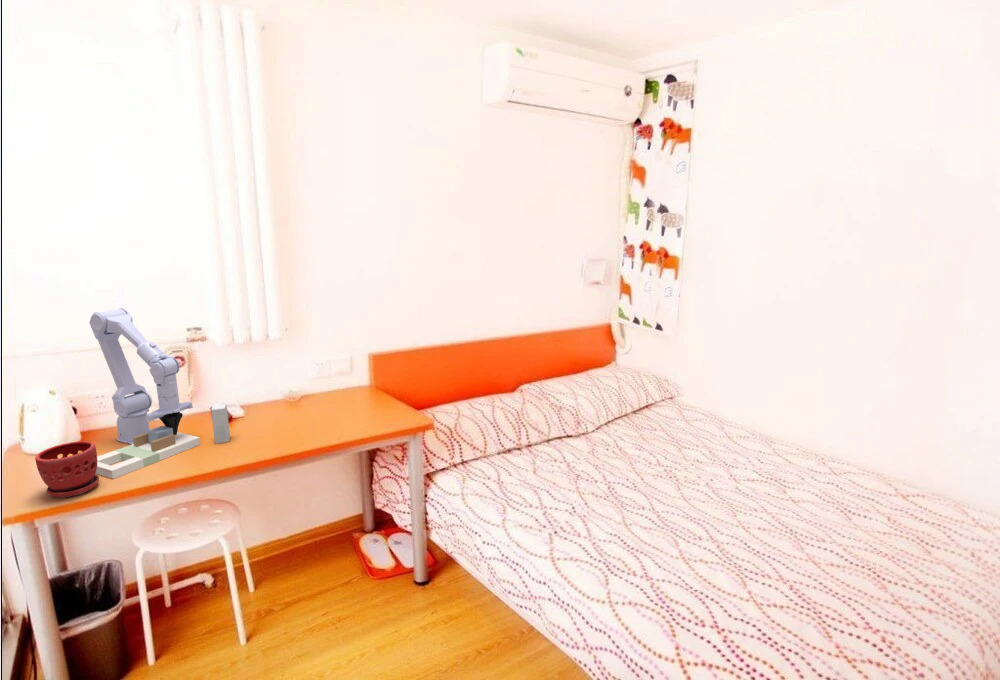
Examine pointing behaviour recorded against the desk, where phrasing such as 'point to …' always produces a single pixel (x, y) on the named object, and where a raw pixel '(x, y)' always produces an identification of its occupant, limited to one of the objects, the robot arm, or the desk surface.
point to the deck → (143, 453)
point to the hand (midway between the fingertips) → (173, 435)
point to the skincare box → (220, 423)
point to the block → (159, 433)
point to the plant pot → (68, 468)
